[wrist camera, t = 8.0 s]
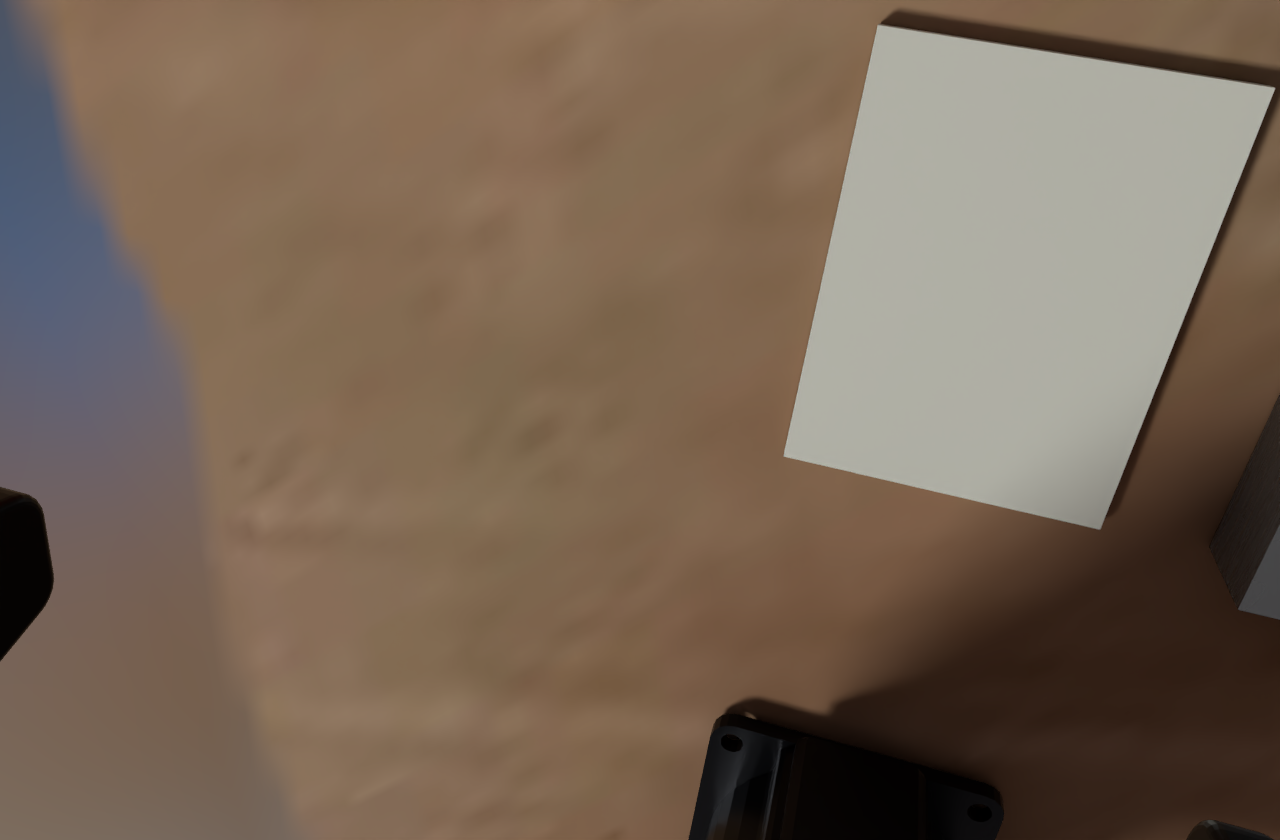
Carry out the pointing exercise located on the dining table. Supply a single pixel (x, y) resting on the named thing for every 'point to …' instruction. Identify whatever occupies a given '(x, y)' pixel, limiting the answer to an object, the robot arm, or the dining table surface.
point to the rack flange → (1254, 529)
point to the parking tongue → (1013, 266)
